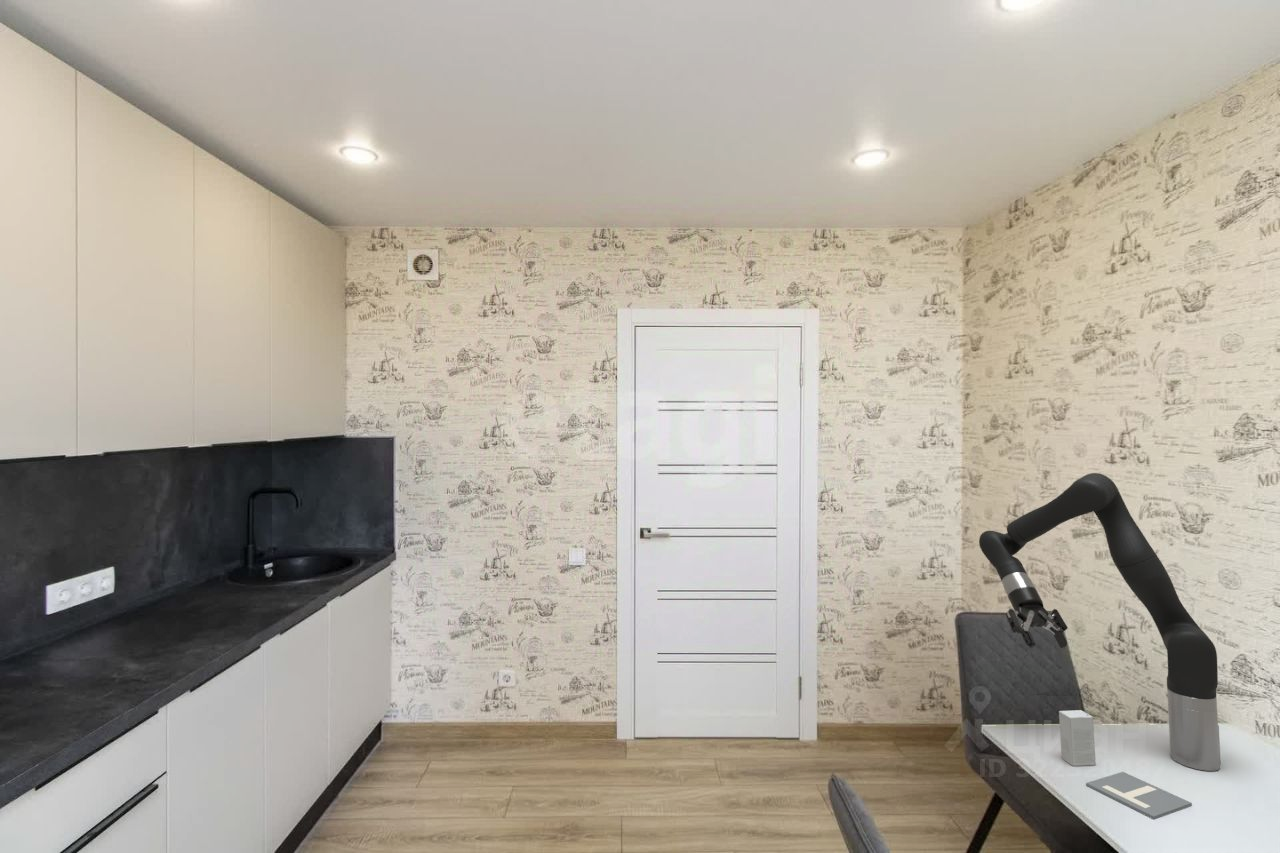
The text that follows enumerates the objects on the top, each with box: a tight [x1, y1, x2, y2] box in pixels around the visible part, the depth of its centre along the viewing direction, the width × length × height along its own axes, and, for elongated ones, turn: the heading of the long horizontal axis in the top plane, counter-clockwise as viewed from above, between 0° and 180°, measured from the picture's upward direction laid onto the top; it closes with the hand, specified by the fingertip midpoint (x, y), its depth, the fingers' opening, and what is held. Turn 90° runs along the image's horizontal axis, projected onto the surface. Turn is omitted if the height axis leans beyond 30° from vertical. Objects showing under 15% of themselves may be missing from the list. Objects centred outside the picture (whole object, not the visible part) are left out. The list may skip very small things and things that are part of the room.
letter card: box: [1085, 771, 1193, 820], centre depth 139 cm, size 13×14×1 cm
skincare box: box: [1058, 709, 1097, 767], centre depth 154 cm, size 6×4×12 cm
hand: (1048, 646), depth 165 cm, fingers open, 8 cm apart
